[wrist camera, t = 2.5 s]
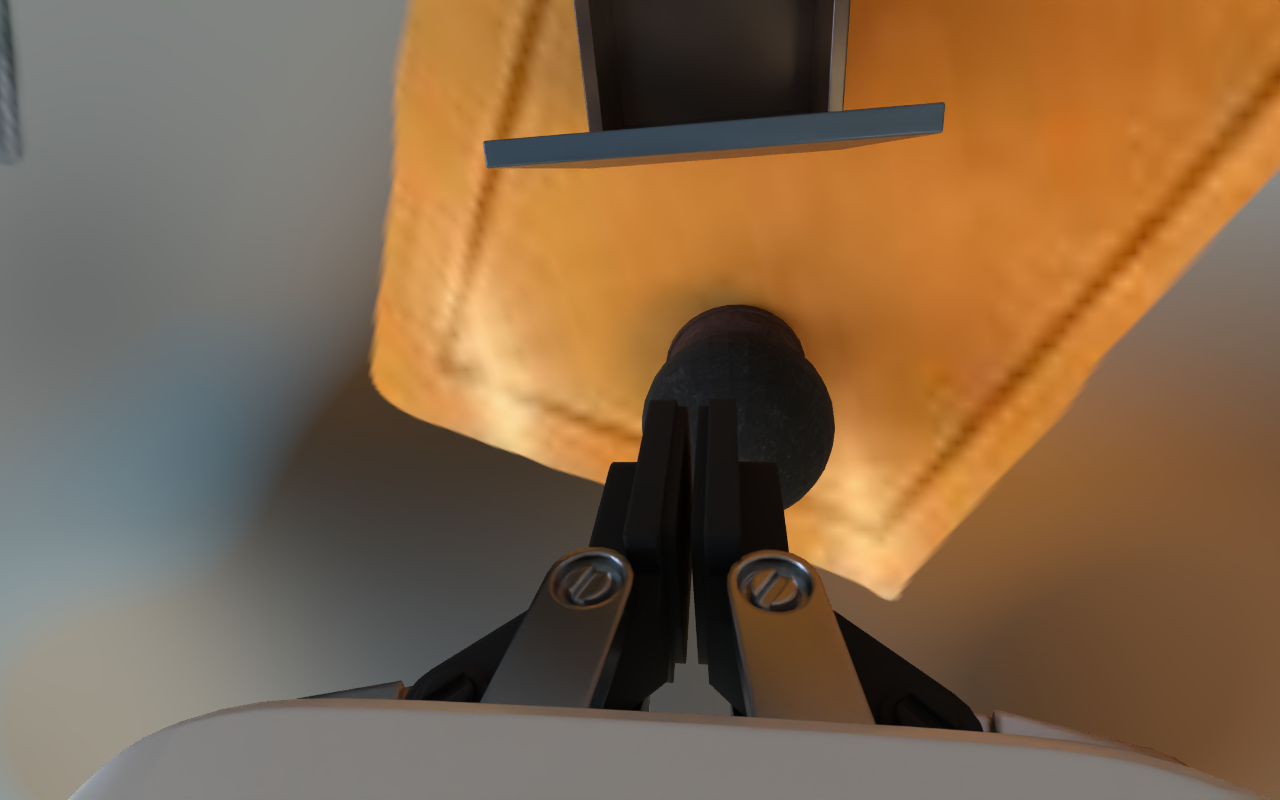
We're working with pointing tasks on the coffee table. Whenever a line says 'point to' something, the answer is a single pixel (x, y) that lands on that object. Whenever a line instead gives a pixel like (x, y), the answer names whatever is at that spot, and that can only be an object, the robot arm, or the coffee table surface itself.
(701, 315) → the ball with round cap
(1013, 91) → the coffee table surface
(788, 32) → the brown box
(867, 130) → the blue-grey square panel
